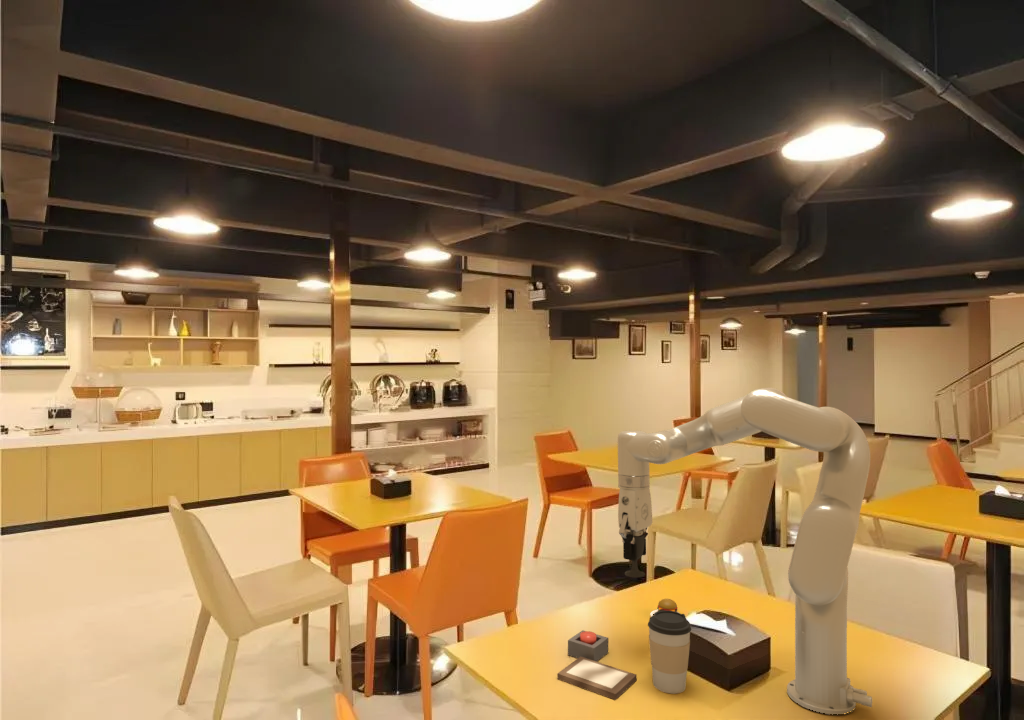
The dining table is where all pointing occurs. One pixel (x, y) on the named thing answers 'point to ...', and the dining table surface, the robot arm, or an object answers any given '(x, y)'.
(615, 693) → the drawing board
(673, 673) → the coffee cup
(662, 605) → the hamburger
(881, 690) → the dining table surface
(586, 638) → the button
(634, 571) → the sundae
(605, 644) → the button base
